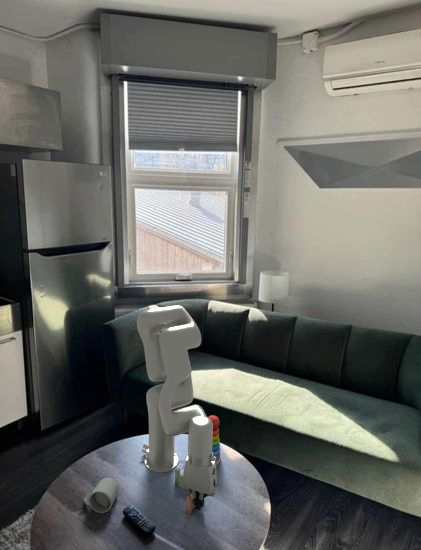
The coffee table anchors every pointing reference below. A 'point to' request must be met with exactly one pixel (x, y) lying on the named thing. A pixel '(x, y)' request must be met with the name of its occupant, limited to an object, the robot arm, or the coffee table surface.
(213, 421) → the stacking toy
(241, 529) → the coffee table surface
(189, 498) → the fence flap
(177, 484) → the bar
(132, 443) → the coffee table surface
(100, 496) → the ceramic mug
